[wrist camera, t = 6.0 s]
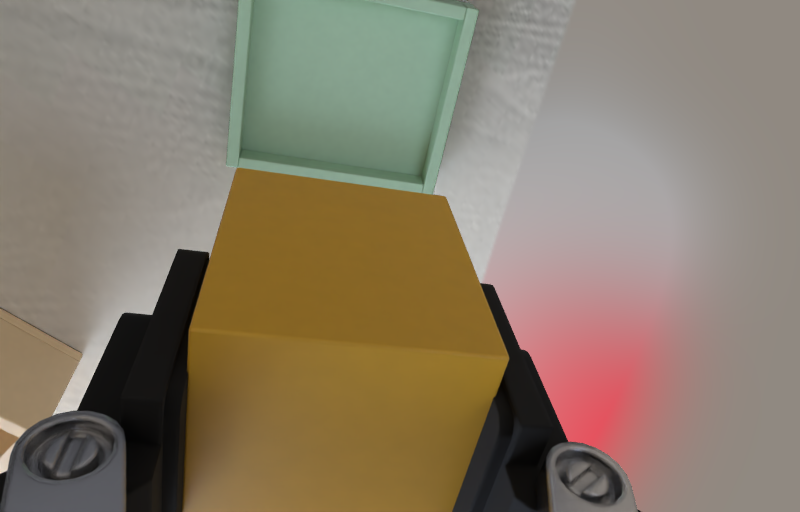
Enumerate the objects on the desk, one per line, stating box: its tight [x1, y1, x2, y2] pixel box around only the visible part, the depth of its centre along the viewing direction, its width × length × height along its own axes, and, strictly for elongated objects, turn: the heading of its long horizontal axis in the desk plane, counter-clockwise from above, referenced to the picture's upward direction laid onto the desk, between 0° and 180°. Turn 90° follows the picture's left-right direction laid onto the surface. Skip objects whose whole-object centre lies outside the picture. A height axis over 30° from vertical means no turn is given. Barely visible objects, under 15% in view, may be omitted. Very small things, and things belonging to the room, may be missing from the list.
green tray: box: [226, 0, 479, 195], centre depth 26 cm, size 9×8×2 cm
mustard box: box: [182, 168, 509, 512], centre depth 12 cm, size 4×4×6 cm
